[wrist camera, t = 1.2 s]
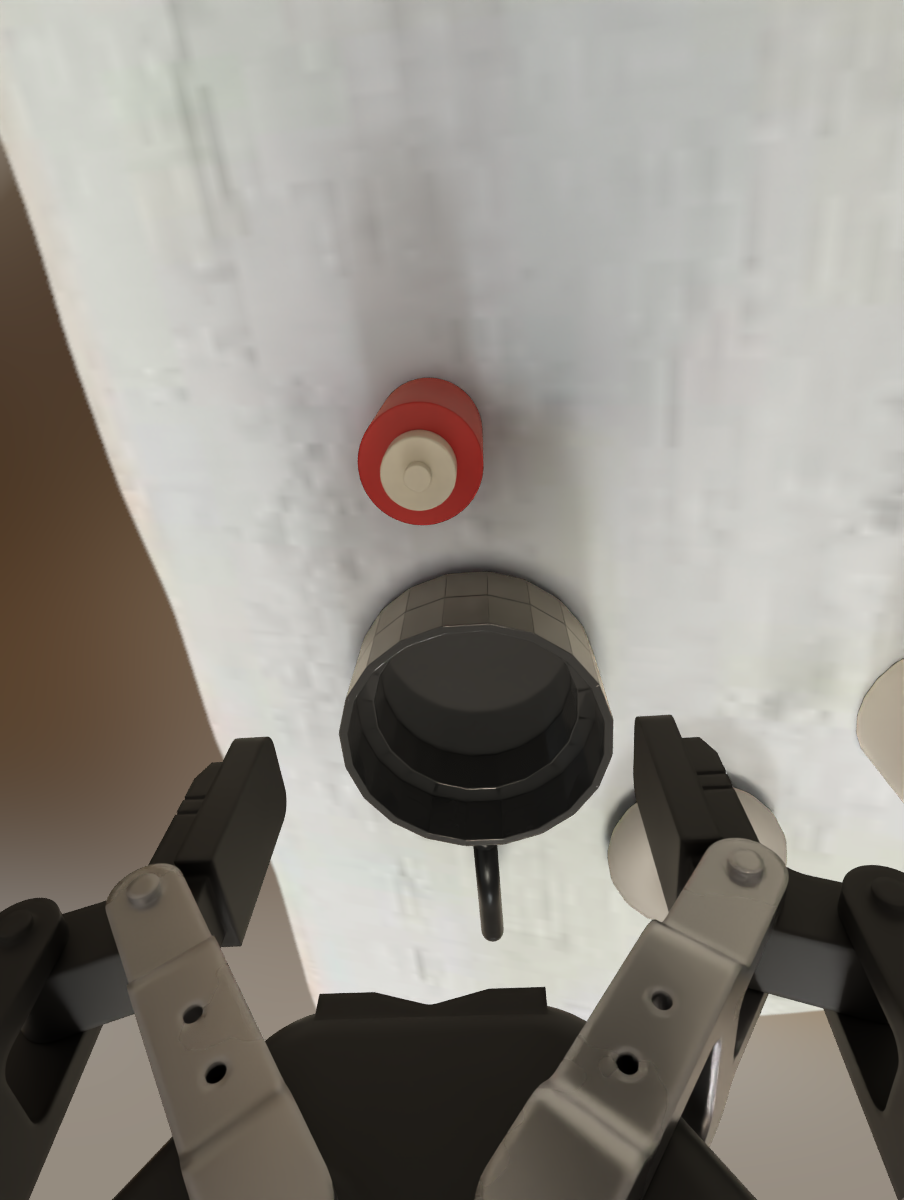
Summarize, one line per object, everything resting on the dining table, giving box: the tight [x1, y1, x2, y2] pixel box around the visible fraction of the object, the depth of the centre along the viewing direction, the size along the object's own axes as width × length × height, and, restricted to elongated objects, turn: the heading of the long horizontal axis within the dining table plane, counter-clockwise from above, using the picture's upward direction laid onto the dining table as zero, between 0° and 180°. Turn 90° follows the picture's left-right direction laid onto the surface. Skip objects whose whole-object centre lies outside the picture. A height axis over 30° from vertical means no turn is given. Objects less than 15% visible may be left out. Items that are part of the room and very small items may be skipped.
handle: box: [473, 845, 504, 942], centre depth 37 cm, size 8×1×1 cm, turn 5°
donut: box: [608, 787, 787, 922], centre depth 40 cm, size 10×3×10 cm
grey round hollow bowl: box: [339, 571, 613, 846], centre depth 35 cm, size 12×12×6 cm
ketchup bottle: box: [358, 378, 483, 525], centre depth 29 cm, size 5×5×8 cm
